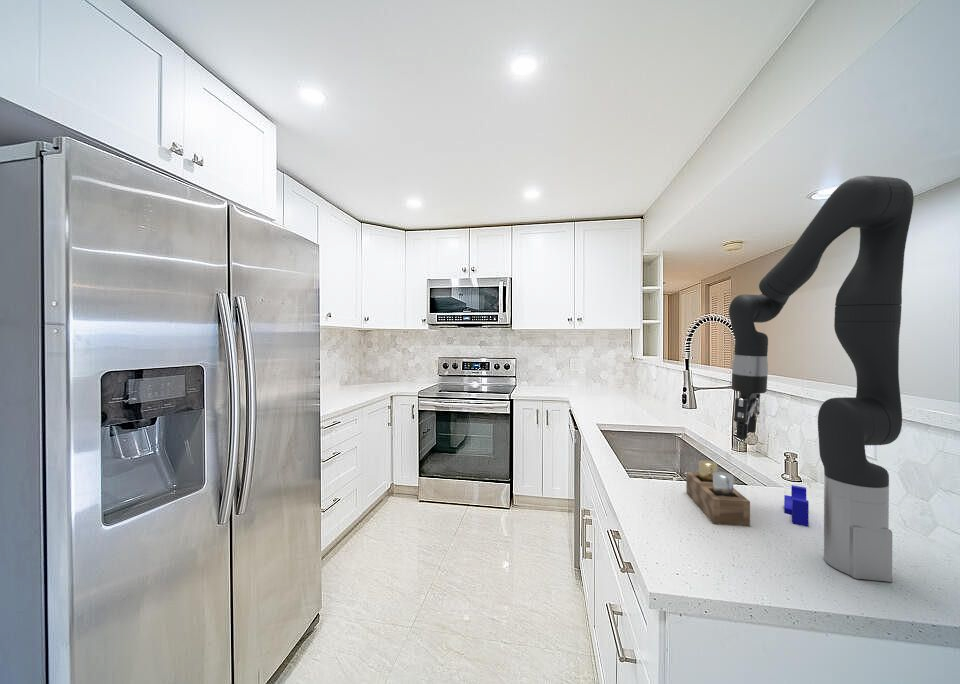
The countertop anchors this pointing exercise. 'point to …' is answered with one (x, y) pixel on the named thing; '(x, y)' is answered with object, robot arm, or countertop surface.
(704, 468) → the brass peg
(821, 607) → the countertop surface
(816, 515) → the countertop surface
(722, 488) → the steel peg
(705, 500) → the wooden peg holder
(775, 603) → the countertop surface
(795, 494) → the blue block piece
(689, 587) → the countertop surface
